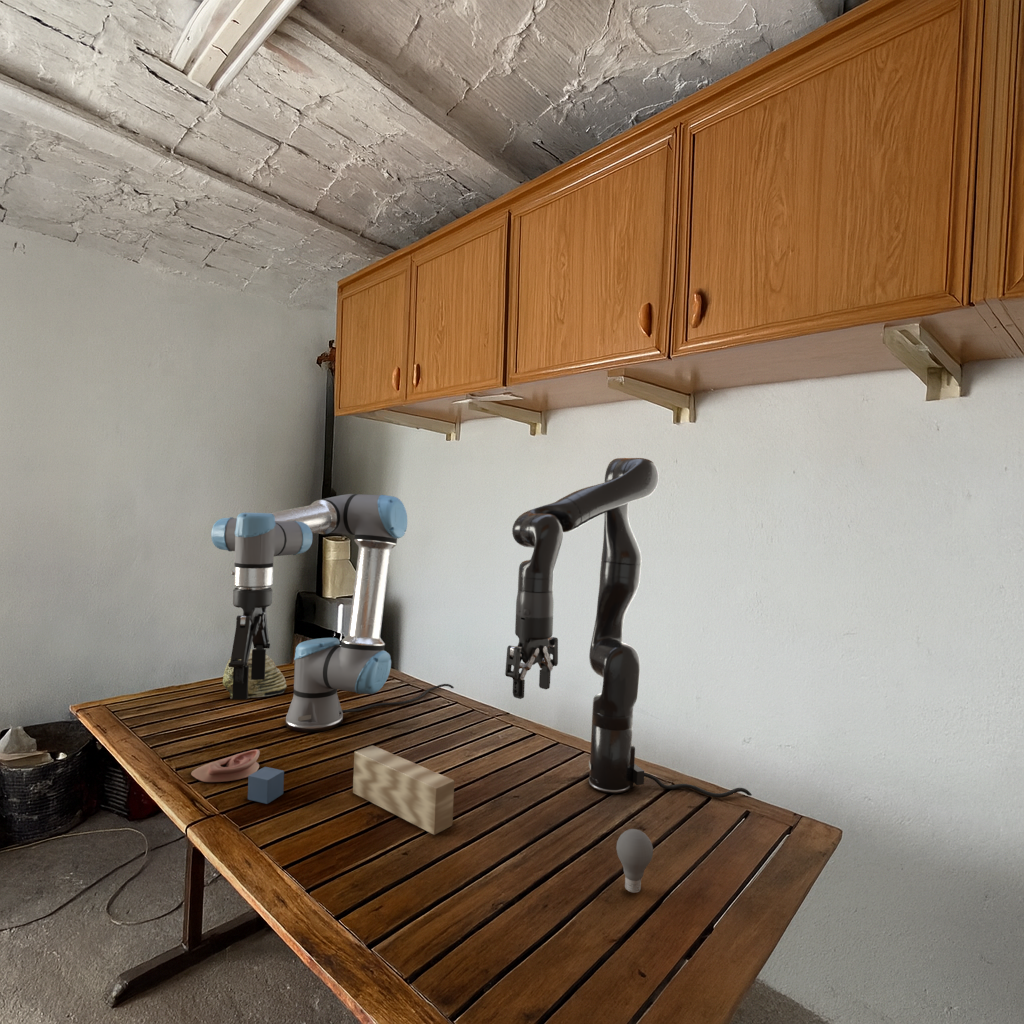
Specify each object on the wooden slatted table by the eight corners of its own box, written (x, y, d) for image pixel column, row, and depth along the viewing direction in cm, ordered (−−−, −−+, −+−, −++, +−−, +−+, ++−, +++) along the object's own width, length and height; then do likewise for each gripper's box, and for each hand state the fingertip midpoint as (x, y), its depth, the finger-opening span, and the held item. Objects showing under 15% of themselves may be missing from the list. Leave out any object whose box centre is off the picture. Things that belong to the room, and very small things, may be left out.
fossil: (218, 695, 195) (220, 647, 195) (278, 685, 208) (279, 640, 207) (228, 703, 189) (230, 653, 188) (289, 692, 201) (290, 645, 201)
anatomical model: (182, 760, 139) (216, 741, 150) (181, 778, 139) (216, 758, 150) (236, 768, 136) (267, 748, 147) (235, 786, 136) (266, 765, 147)
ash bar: (352, 792, 136) (354, 751, 136) (371, 785, 140) (372, 745, 140) (434, 835, 121) (436, 788, 120) (452, 825, 124) (454, 780, 124)
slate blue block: (264, 789, 136) (265, 766, 136) (283, 793, 134) (284, 770, 134) (247, 799, 131) (248, 775, 131) (267, 804, 130) (268, 780, 130)
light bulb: (610, 879, 108) (613, 822, 108) (644, 879, 109) (647, 822, 109) (619, 902, 102) (622, 840, 102) (655, 901, 103) (658, 840, 103)
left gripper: (250, 578, 143) (247, 671, 144) (214, 595, 119) (210, 708, 119) (285, 579, 144) (281, 672, 145) (256, 596, 120) (252, 708, 120)
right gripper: (540, 606, 135) (537, 681, 135) (497, 614, 124) (494, 696, 124) (570, 611, 130) (567, 689, 130) (527, 620, 119) (524, 705, 119)
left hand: (249, 688), depth 132 cm, fingers open, 13 cm apart
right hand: (531, 693), depth 127 cm, fingers open, 8 cm apart
